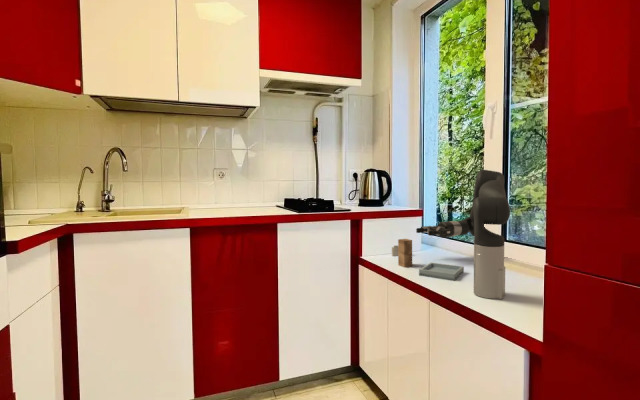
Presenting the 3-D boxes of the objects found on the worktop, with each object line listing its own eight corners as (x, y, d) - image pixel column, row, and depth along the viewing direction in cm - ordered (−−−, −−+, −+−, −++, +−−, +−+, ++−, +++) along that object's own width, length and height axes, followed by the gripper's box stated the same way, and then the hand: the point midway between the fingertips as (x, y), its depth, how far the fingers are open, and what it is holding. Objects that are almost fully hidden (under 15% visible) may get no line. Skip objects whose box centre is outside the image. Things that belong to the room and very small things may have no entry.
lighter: (392, 256, 178) (392, 240, 178) (391, 255, 180) (391, 240, 180) (406, 255, 179) (406, 240, 179) (404, 254, 181) (404, 239, 180)
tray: (463, 272, 145) (463, 266, 145) (454, 280, 134) (454, 274, 134) (430, 268, 154) (430, 262, 154) (419, 275, 143) (419, 269, 142)
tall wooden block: (406, 264, 162) (406, 238, 161) (412, 266, 158) (412, 240, 157) (398, 265, 160) (398, 239, 159) (404, 267, 156) (404, 241, 155)
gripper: (438, 219, 175) (412, 222, 168) (460, 223, 162) (433, 225, 155) (438, 234, 175) (412, 237, 169) (460, 239, 162) (433, 242, 156)
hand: (422, 231), depth 162 cm, fingers open, 8 cm apart
